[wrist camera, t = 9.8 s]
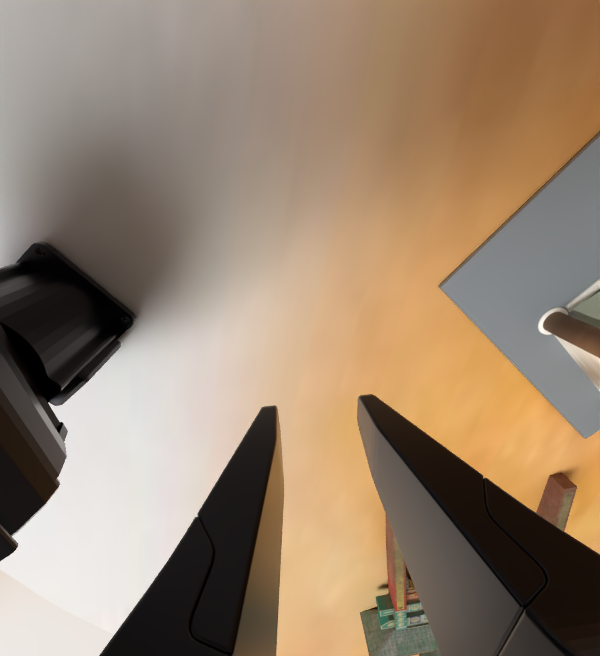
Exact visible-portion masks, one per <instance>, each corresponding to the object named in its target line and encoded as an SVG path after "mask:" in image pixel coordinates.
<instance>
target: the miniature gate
mask: <svg viewBox="0 0 600 656" xmlns="http://www.w3.org/2000/svg"><path fill="white" fill-rule="evenodd" d="M576 489H577V486H576V485H575V484H573V483H572V482H571V481H570V480H569V479H568V478H567V477H566V476H565V475H563V474H562V473H560V474H554V475H550V476H549V479H548V481H547V484H546V487H545V490H544V493H543V495H542V498H541V501H540V504H539V507H538V509H537V512H536V513H537V514H538V515H540V516H541V517H543V518H544V519H546V520H547V521H549V522H550V523H552V524H553V525H555V526H556V527H558V528H559V529H561V530H562V531H564V530H565V527H566V523H567V520H568V516H569V513H570V509H571V506H572V503H573V499H574V496H575V492H576ZM386 551H387V569H388V587H389V594H388V595H382V596H377V597H376V603H377V606H378V608H376V609H371V610H366V611H363V612H360V615H361V620H362V624H363V629H364V633H365V638H366V643H367V647H368V652H369V656H412V655H417V654H419V656H441V654H440V651H439V648H438V646H437V643H436V641H435V638H434V636H433V633H432V630H431V628H430V625H429V623H428V620H427V618H426V615H425V612H424V610H423V607H422V605H421V602H420V600H419V597H418V594H417V592H416V589H415V587H414V584H413V582H412V581H411V580H410V579H408V576H407V574H406V564H405V561H404V558H403V556H402V553H401V551H400V548H399V546H398V543H397V540H396V538H395V535H394V533H393V530H392V528H391V525H390V522H389V520H388V517H387V515H386Z"/></svg>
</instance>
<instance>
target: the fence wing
mask: <svg viewBox="0 0 600 656" xmlns="http://www.w3.org/2000/svg"><path fill="white" fill-rule="evenodd" d="M572 310H573V312H574V315H575V318H576V319H578V320H580V321H583V322H585V323H587V324H590V325H592V326H594V327H597V328H599V329H600V292H598V293H597V294H595V295H594V296H592V297H591V298H589V299H587V300H586V301H584V302H583V303H581V304H580V305H578V306H576V307H575V308H573V309H572Z"/></svg>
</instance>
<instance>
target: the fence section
mask: <svg viewBox="0 0 600 656" xmlns="http://www.w3.org/2000/svg"><path fill="white" fill-rule="evenodd" d="M543 328H544V330H546V331H548V332H550V333H552V334H554V336H555V337H556V338H557V339H558V341H559V342H560V343H561V344H562V346H563V347H564V348H565V349H566V350H567V352H568V353H569V354H570V355H571V357H572V358H573V359H574V360H575V362H576V363H577V364H578V365H579V366H580V368H581V369H582V370H583V371H584V373H585V374H586V375H587V376H588V378H589V379H590V380H591V381H592V382H593V384H594V385H595V386H596V387H597V389H598V390H599V391H600V329H599V328H597V327H594V326H592V325H590V324H587V323H585V322H583V321H580V320H578V319H576V318H573V317H571V316H569V315H566V314H564V313H562V312H554V313H552V314H550V315H549V316H547V318H546V319H545V320H544V322H543Z"/></svg>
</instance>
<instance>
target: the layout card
mask: <svg viewBox="0 0 600 656" xmlns="http://www.w3.org/2000/svg"><path fill="white" fill-rule="evenodd" d="M438 287H439V288H440V289H441V290H442V291H443V292H444V293H445V294H446V295H447V296H448V297H449V298H450V299H451V300H452V301H453V302H454V303H455V304H456V305H457V306H458V307H459V308H460V309H461V311H462V312H463V313H464V314H465V315H466V316H467V317H468V318H469V319H470V320H471V321H472V322H473V323H474V324H475V325H476V326H477V327H478V328H479V329H480V330H481V331H482V332H483V333H484V334H485V336H486V337H487V338H488V339H489V340H490V341H491V342H492V343H493V344H494V345H495V346H496V347H497V348H498V349H499V350H500V351H501V352H502V353H503V354H504V355H505V356H506V357H507V358H508V359H509V361H510V362H511V363H512V364H513V365H514V366H515V367H516V368H517V369H518V370H519V371H520V372H521V373H522V374H523V375H524V376H525V377H526V378H527V379H528V380H529V381H530V382H531V383H532V384H533V386H534V387H535V388H536V389H537V390H538V391H539V392H540V393H541V394H542V395H543V396H544V397H545V398H546V399H547V400H548V401H549V402H550V403H551V404H552V405H553V406H554V407H555V408H556V409H557V411H558V412H559V413H560V414H561V415H562V416H563V417H564V418H565V419H566V420H567V421H568V422H569V423H570V424H571V425H572V426H573V427H574V428H575V429H576V430H577V431H578V432H579V433H580V434H581V436H582V437H584V438H585V439H586V438H588V437H590V436H591V435H593V434H594V433H596V432H597V431H599V430H600V391H599V390H598V389H597V387H596V386H595V385H594V384H593V382H592V381H591V380H590V379H589V378H588V376H587V375H586V374H585V373H584V371H583V370H582V369H581V368H580V366H579V365H578V364H577V363H576V362H575V360H574V359H573V358H572V357H571V355H570V354H569V353H568V352H567V350H566V349H565V348H564V347H563V346H562V344H561V343H560V342H559V341H558V339H557V338H556V337H555V336H554V334H552V333H550V332H548V331H546V330H544V328H543V322H544V320H545V319H546V318H547V316H549V315H550V314H552V313H554V312H562V313H564V314H566V315H569V316H571V317H573V318H575V315H574V312H573V310H572V309H573V308H575V307H576V306H578V305H580V304H581V303H583V302H584V301H586V300H587V299H589V298H591V297H592V296H594V295H595V294H597V293H598V292H600V132H599V133H598V134H597V135H596V136H595V137H594V138H593V139H592V140H591V141H590V142H589V143H588V144H587V145H586V146H585V147H584V148H583V149H581V150H580V151H579V152H578V153H577V154H576V155H575V156H574V157H573V158H572V159H571V160H570V161H569V162H568V163H567V164H566V165H565V166H564V167H563V168H562V169H561V170H559V171H558V172H557V173H556V174H555V175H554V176H553V177H552V178H551V179H550V180H549V181H548V182H547V183H546V184H545V185H544V186H543V187H542V188H541V189H540V190H539V191H537V192H536V193H535V194H534V195H533V196H532V197H531V198H530V199H529V200H528V201H527V202H526V203H525V204H524V205H523V206H522V207H521V208H520V209H519V210H518V211H516V212H515V213H514V214H513V215H512V216H511V217H510V218H509V219H508V220H507V221H506V222H505V223H504V224H503V225H502V226H501V227H500V228H499V229H498V230H497V231H496V232H494V233H493V234H492V235H491V236H490V237H489V238H488V239H487V240H486V241H485V242H484V243H483V244H482V245H481V246H480V247H479V248H478V249H477V250H476V251H475V252H474V253H472V254H471V255H470V256H469V257H468V258H467V259H466V260H465V261H464V262H463V263H462V264H461V265H460V266H459V267H458V268H457V269H456V270H455V271H454V272H453V273H452V274H450V275H449V276H448V277H447V278H446V279H445V280H444V281H443V282H442V283H441V284H440V285H439V286H438Z"/></svg>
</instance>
